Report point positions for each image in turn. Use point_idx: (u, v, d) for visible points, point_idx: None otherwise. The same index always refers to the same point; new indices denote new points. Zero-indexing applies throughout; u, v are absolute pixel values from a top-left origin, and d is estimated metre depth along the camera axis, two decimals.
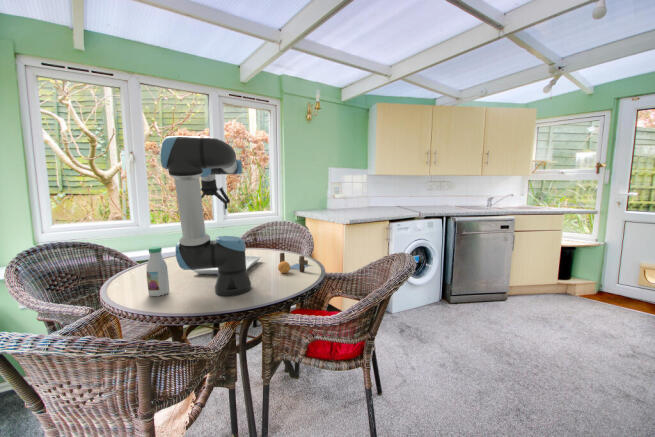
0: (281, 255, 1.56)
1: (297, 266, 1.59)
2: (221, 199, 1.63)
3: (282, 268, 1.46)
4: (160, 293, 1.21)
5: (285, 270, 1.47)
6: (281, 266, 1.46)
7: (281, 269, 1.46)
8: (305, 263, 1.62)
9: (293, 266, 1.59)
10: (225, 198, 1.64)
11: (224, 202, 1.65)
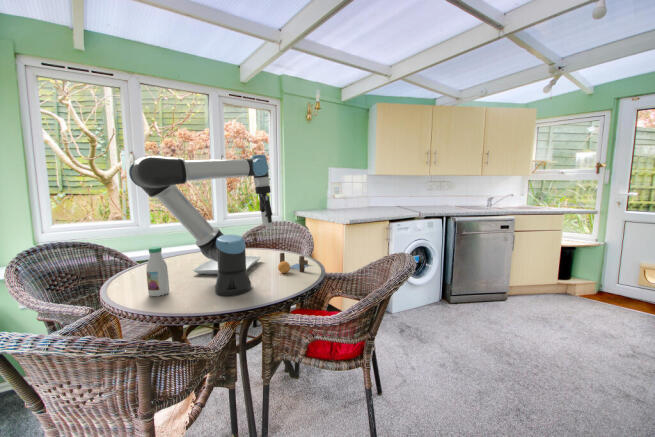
0: (281, 255, 1.56)
1: (297, 266, 1.59)
2: (265, 209, 1.45)
3: (282, 268, 1.46)
4: (160, 293, 1.21)
5: (285, 270, 1.47)
6: (281, 266, 1.46)
7: (281, 269, 1.46)
8: (305, 263, 1.62)
9: (293, 266, 1.59)
10: (266, 209, 1.43)
11: (266, 214, 1.44)
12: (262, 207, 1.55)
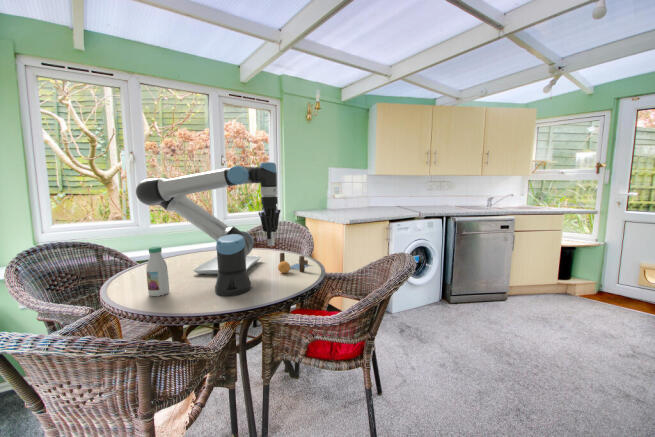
0: (281, 255, 1.56)
1: (297, 266, 1.59)
2: None
3: (282, 268, 1.46)
4: (160, 293, 1.21)
5: (285, 270, 1.47)
6: (281, 266, 1.46)
7: (281, 269, 1.46)
8: (305, 263, 1.62)
9: (293, 266, 1.59)
10: None
11: None
12: None
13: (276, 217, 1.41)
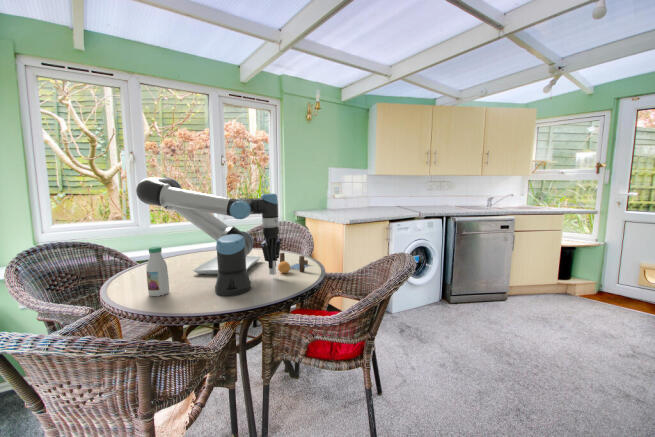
0: (281, 255, 1.56)
1: (297, 266, 1.59)
2: None
3: (282, 268, 1.46)
4: (160, 293, 1.21)
5: (285, 270, 1.47)
6: (281, 266, 1.46)
7: (281, 269, 1.46)
8: (305, 263, 1.62)
9: (293, 266, 1.59)
10: None
11: None
12: None
13: (277, 246, 1.43)
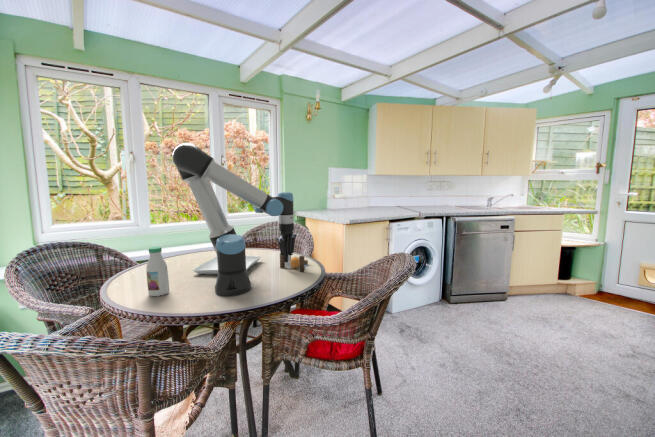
0: (281, 255, 1.56)
1: None
2: None
3: None
4: (160, 293, 1.21)
5: None
6: None
7: None
8: (305, 263, 1.62)
9: None
10: None
11: None
12: None
13: (292, 241, 1.53)
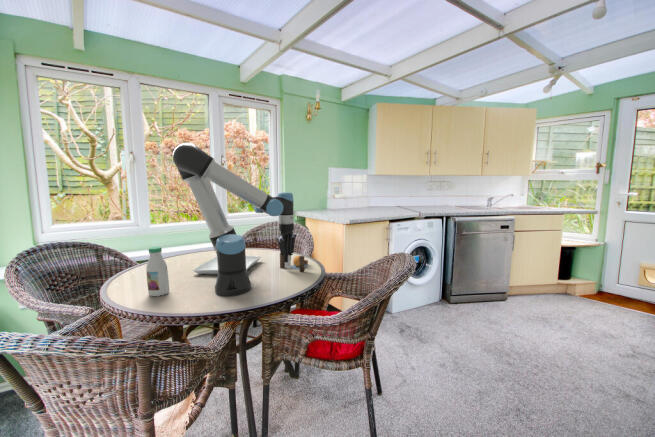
0: (281, 255, 1.56)
1: None
2: None
3: None
4: (160, 293, 1.21)
5: None
6: None
7: None
8: (305, 263, 1.62)
9: (293, 266, 1.59)
10: None
11: None
12: None
13: (292, 241, 1.53)
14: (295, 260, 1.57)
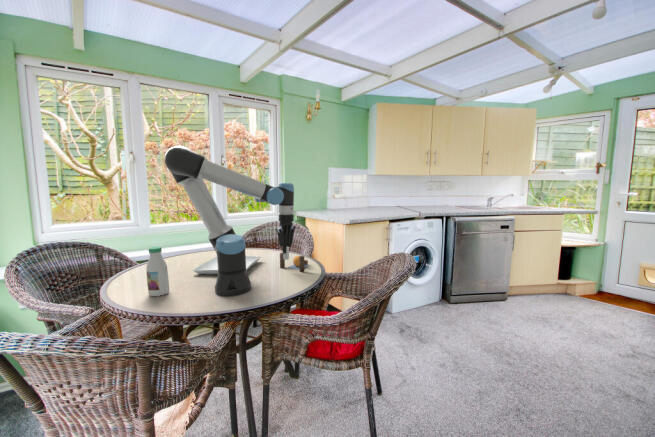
0: (281, 255, 1.56)
1: None
2: None
3: None
4: (160, 293, 1.21)
5: None
6: None
7: None
8: (305, 263, 1.62)
9: (293, 266, 1.59)
10: None
11: None
12: None
13: (291, 233, 1.52)
14: (295, 260, 1.57)
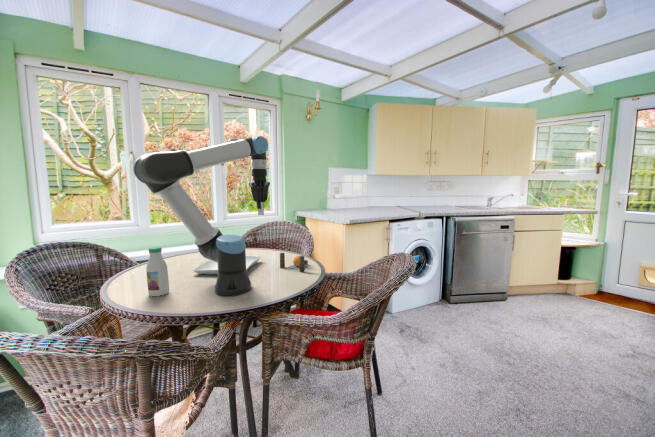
0: (281, 255, 1.56)
1: None
2: None
3: None
4: (160, 293, 1.21)
5: None
6: None
7: None
8: (305, 263, 1.62)
9: (293, 266, 1.59)
10: None
11: None
12: None
13: (266, 189, 1.52)
14: (295, 260, 1.57)
